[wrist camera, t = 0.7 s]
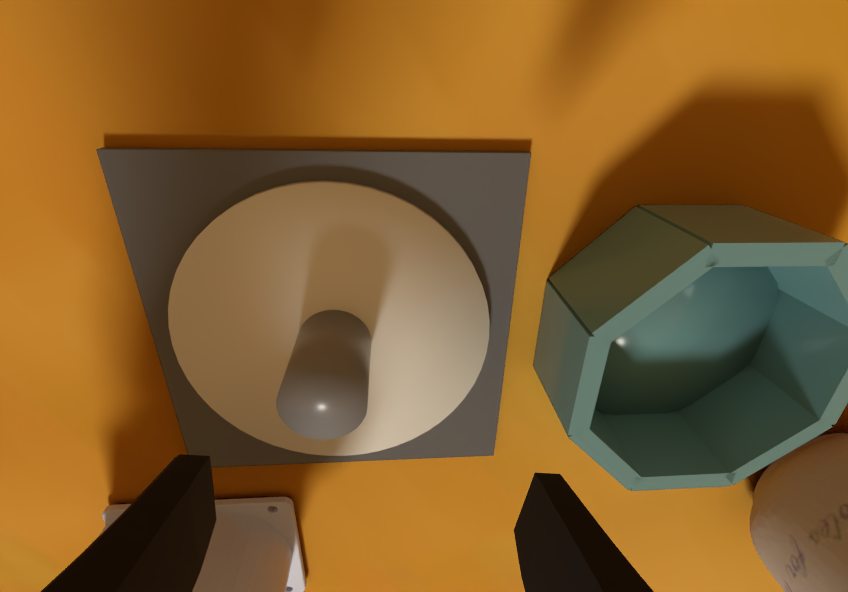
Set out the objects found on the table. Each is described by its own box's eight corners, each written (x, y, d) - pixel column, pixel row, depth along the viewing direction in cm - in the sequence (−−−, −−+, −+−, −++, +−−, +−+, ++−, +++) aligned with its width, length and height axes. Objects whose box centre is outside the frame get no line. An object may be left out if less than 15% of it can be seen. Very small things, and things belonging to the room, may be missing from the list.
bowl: (524, 419, 22) (554, 494, 18) (558, 204, 17) (610, 243, 13) (730, 411, 23) (801, 482, 19) (818, 204, 18) (940, 241, 14)
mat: (195, 461, 22) (192, 468, 22) (103, 147, 15) (96, 149, 15) (491, 449, 23) (493, 455, 23) (527, 151, 16) (530, 153, 16)
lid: (209, 451, 21) (166, 542, 17) (135, 179, 15) (44, 217, 11) (475, 441, 22) (495, 523, 18) (500, 180, 16) (538, 216, 12)
